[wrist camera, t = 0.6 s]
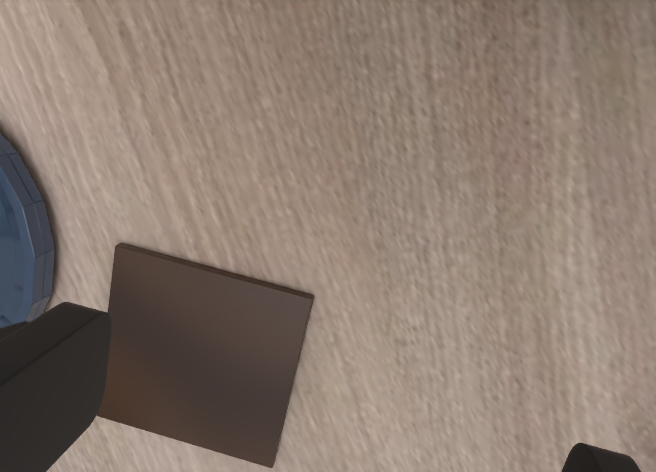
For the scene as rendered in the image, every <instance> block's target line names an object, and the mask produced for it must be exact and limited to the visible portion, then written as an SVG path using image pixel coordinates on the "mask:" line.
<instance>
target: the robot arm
mask: <svg viewBox="0 0 656 472" xmlns="http://www.w3.org/2000/svg"><path fill="white" fill-rule="evenodd" d="M111 332H112V320H111V316H110V315H109V314H108V313H106V312H103V311H99V310H96V309H92V308H88V307H85V306H81V305H77V304H73V303H70V302H63V303H61V304H59V305H57V306H55V307H54V308H52V309H51V310H49V311H47V312H46V313H44V314H42V315H41V316H39V317H37V318H36V319H34V320H32V321H31V322H28V321H23V322H19V323H16V324H13V325H9V326H6V327H2V328H0V472H46V471H47V470H48V469H49V468H50V467H51V466H52V465H53V464H54V463H55V462H56V461H57V460H58V458H59V457H60V456H61V455H62V454H63V453H64V452H65V451H66V450H67V449H68V448H69V447H70V446H71V445H72V444H73V443H74V442H75V441H76V440H77V439H78V438H79V436H80V435H81V434H82V433H83V432H84V431H85V430H86V429H87V428H88V427H89V426H90V424H91V423H92V422H93V420H94V418H95V417H96V415H97V413H98V411H99V409H100V406H101V404H102V401H103V397H104V393H105V386H106V377H107V368H108V359H109V350H110V341H111ZM562 472H641V471H640V469H639V468H638V466H637V464H636V463H635V461H634V460H633V459H632V458H631V457H630V456H628V455H624V454H620V453H617V452H613V451H609V450H606V449H602V448H598V447H595V446H591V445H587V444H584V443H578V444H576V445H575V446H574V447H573V448H572V449H571V451H570V453H569V455H568V457H567V460H566V462H565V465H564V467H563V469H562Z"/></svg>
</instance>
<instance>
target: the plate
mask: <svg viewBox="0 0 656 472" xmlns="http://www.w3.org/2000/svg"><path fill="white" fill-rule="evenodd" d="M54 248H55V246H54V242H53V238H52V233H51V229H50V224H49V220H48V216H47V211H46V207H45V203H44V201H43V198H42V196H41V194H40V192H39V190H38V188H37V186H36V185H35V183H34V181H33V179H32V177H31V175H30V173H29V171H28V170H27V168H26V166H25V164H24V162H23V160H22V158H21V157H20V155H19V154H18V152H17V150H16V149H15V148H14V147H13V146H12V145H11V144H10V143H9V142H8V141H7V140H6V139H5V138H4V137H3V135H2V134H1V133H0V328H2V327H6V326H9V325H13V324H16V323H19V322H23V321H28V322H31V321H32V320H34V319H36V318H37V317H39V316H41V315H42V314H43V311H44V309H45V307H46V305H47V303H48V300H49V298H50V296H51V294H52V293H51V292H52V281H53V268H54V255H55V249H54Z"/></svg>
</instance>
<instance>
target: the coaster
mask: <svg viewBox="0 0 656 472" xmlns="http://www.w3.org/2000/svg"><path fill="white" fill-rule="evenodd" d="M313 299H314V296H313V295H310V294H306V293H303V292H299V291H295V290H292V289H288V288H284V287H281V286H277V285H273V284H270V283H266V282H262V281H259V280H255V279H251V278H248V277H244V276H240V275H237V274H233V273H229V272H225V271H222V270H218V269H214V268H211V267H207V266H203V265H200V264H196V263H192V262H189V261H185V260H181V259H178V258H174V257H170V256H167V255H163V254H159V253H156V252H152V251H148V250H145V249H141V248H137V247H134V246H130V245H126V244H123V243H120V244H118V245H116V246H115V254H114V263H113V272H112V281H111V290H110V299H109V308H108V314H109V315H110V316H111V320H112V332H111V341H110V350H109V359H108V368H107V377H106V386H105V393H104V397H103V401H102V404H101V406H100V409H99V411H98V413H97V416H99V417H102V418H106V419H109V420H112V421H116V422H119V423H123V424H126V425H129V426H133V427H136V428H139V429H143V430H146V431H149V432H153V433H156V434H159V435H163V436H166V437H169V438H173V439H176V440H179V441H183V442H186V443H189V444H193V445H196V446H199V447H203V448H206V449H209V450H213V451H216V452H219V453H223V454H226V455H229V456H233V457H236V458H239V459H243V460H246V461H249V462H253V463H256V464H259V465H263V466H266V467H269V468H273V465H274V463H275V459H276V454H277V450H278V446H279V442H280V438H281V433H282V429H283V425H284V421H285V417H286V412H287V408H288V404H289V400H290V396H291V391H292V387H293V383H294V379H295V375H296V370H297V366H298V362H299V358H300V354H301V349H302V345H303V341H304V337H305V332H306V328H307V324H308V320H309V316H310V311H311V307H312V303H313Z"/></svg>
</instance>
